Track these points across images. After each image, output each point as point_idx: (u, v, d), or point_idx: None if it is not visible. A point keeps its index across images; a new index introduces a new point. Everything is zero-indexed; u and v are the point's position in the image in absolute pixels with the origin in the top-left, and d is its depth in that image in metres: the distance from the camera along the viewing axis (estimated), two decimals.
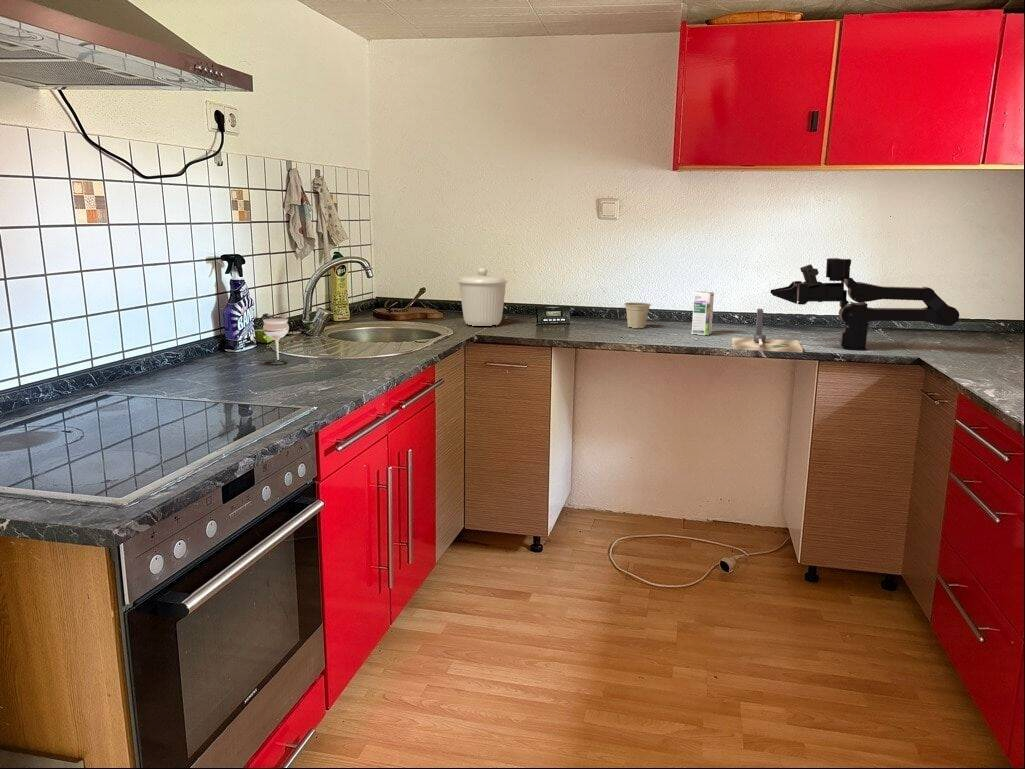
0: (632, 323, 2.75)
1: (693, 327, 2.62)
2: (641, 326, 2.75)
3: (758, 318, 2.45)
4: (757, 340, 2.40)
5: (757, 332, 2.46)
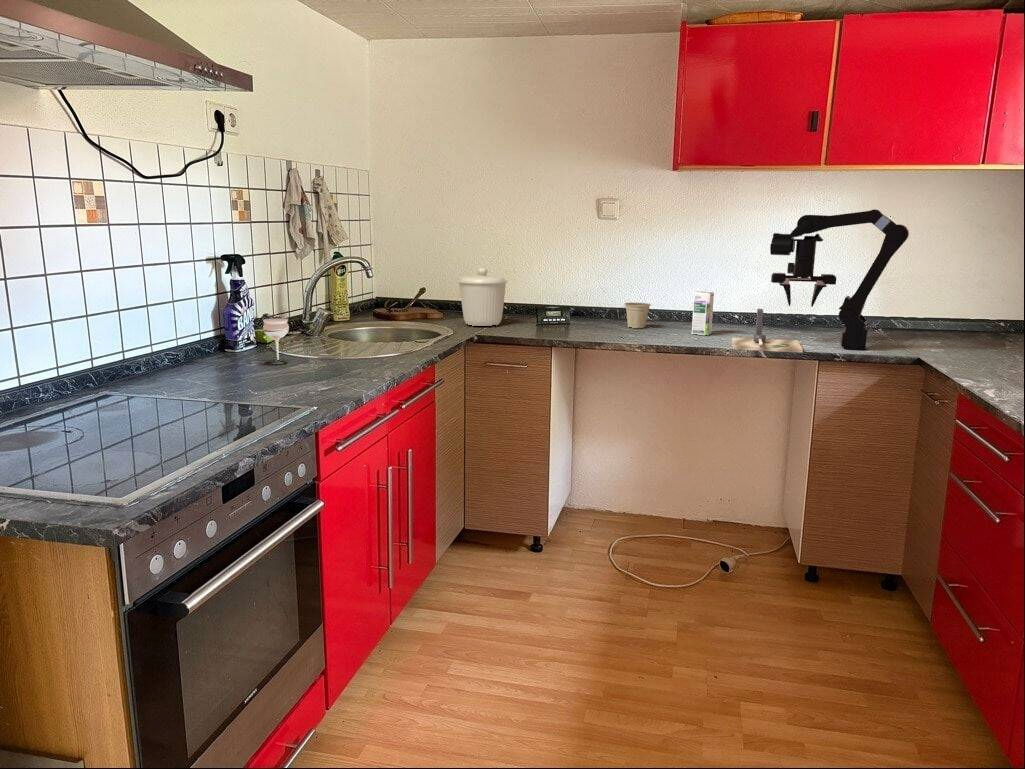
0: (632, 323, 2.75)
1: (693, 327, 2.62)
2: (641, 326, 2.75)
3: (758, 318, 2.45)
4: (757, 340, 2.40)
5: (757, 332, 2.46)
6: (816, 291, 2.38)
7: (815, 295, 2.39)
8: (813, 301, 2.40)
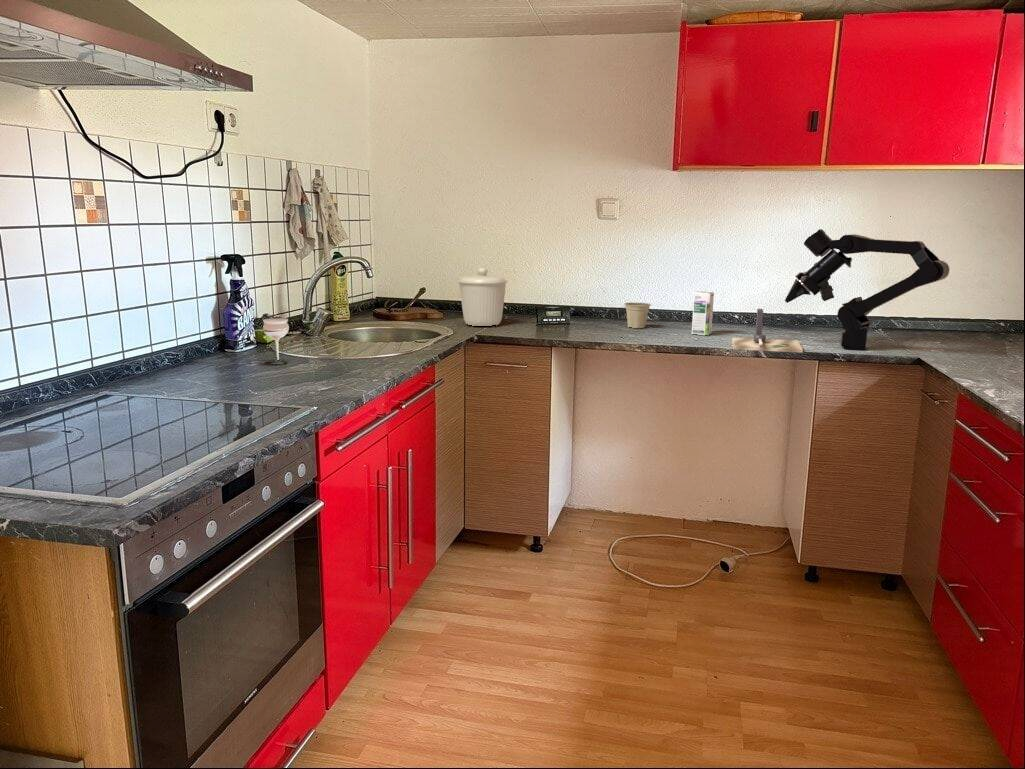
0: (632, 323, 2.75)
1: (693, 327, 2.62)
2: (641, 326, 2.75)
3: (758, 318, 2.45)
4: (757, 340, 2.40)
5: (757, 332, 2.46)
6: (793, 285, 2.41)
7: (791, 289, 2.41)
8: (787, 295, 2.42)
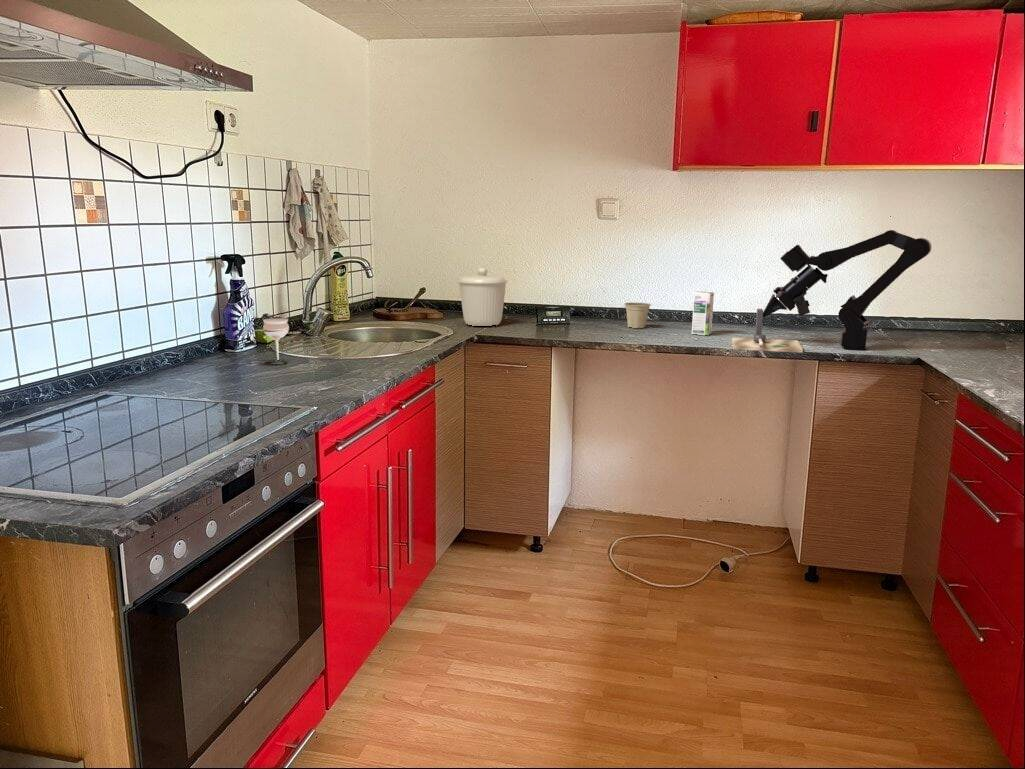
0: (632, 323, 2.75)
1: (693, 327, 2.62)
2: (641, 326, 2.75)
3: (758, 318, 2.45)
4: (757, 340, 2.40)
5: (757, 332, 2.46)
6: (770, 300, 2.44)
7: (768, 304, 2.45)
8: (764, 310, 2.45)
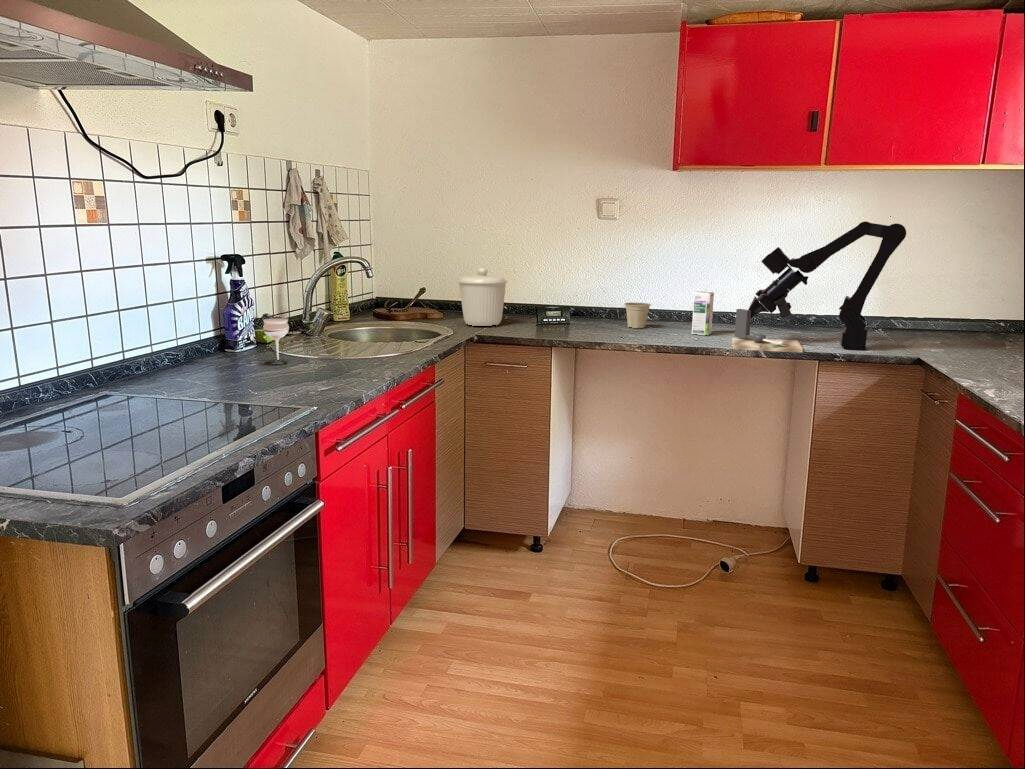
0: (632, 323, 2.75)
1: (693, 327, 2.62)
2: (641, 326, 2.75)
3: (747, 318, 2.44)
4: (761, 340, 2.39)
5: (746, 332, 2.45)
6: (752, 303, 2.45)
7: (750, 307, 2.46)
8: None
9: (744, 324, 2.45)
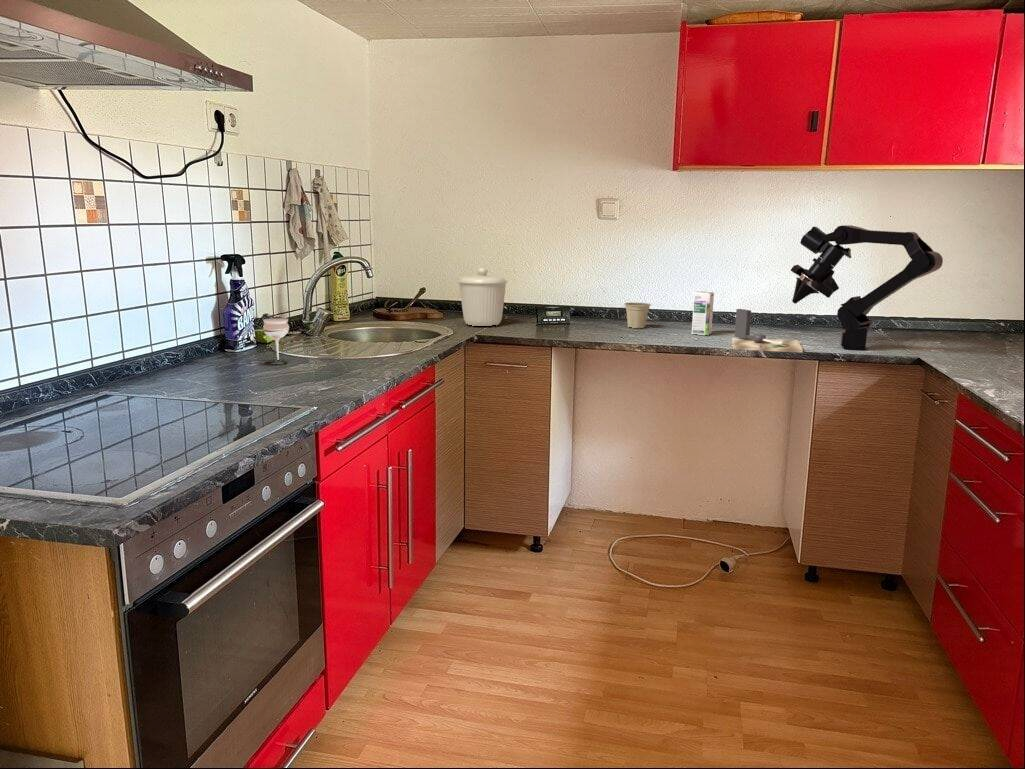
0: (632, 323, 2.75)
1: (693, 327, 2.62)
2: (641, 326, 2.75)
3: (747, 318, 2.44)
4: (761, 340, 2.39)
5: (746, 332, 2.45)
6: (799, 287, 2.41)
7: (798, 291, 2.41)
8: (795, 297, 2.43)
9: (744, 324, 2.45)
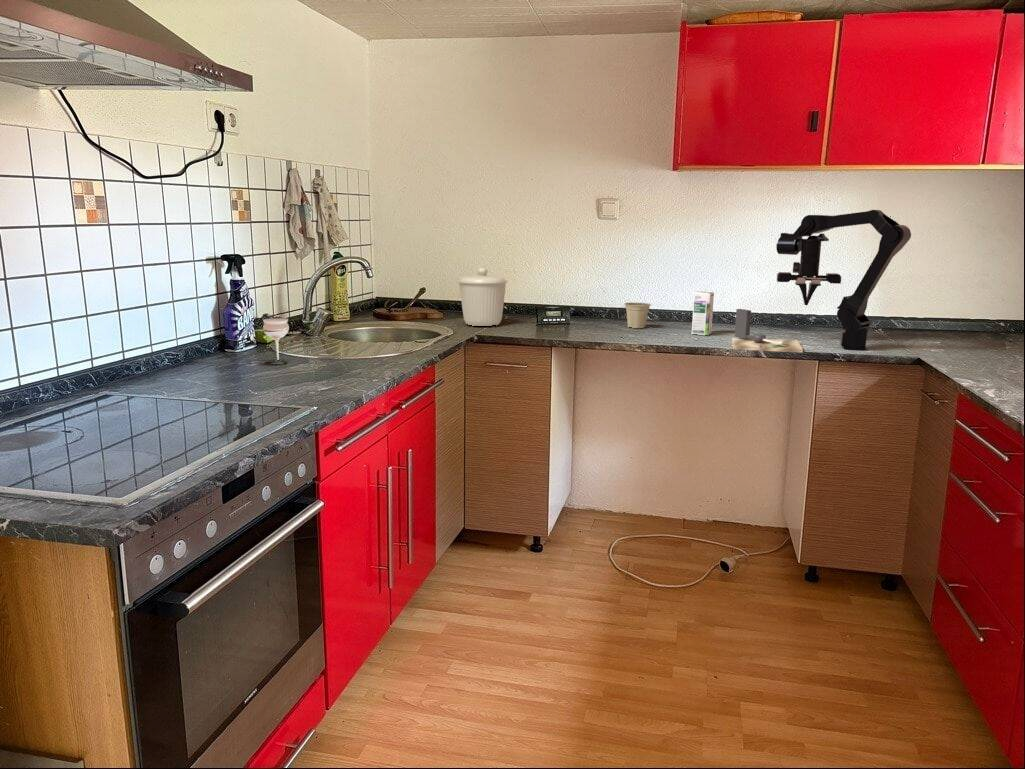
0: (632, 323, 2.75)
1: (693, 327, 2.62)
2: (641, 326, 2.75)
3: (747, 318, 2.44)
4: (761, 340, 2.39)
5: (746, 332, 2.45)
6: (811, 290, 2.42)
7: (810, 294, 2.43)
8: (808, 300, 2.44)
9: (744, 324, 2.45)
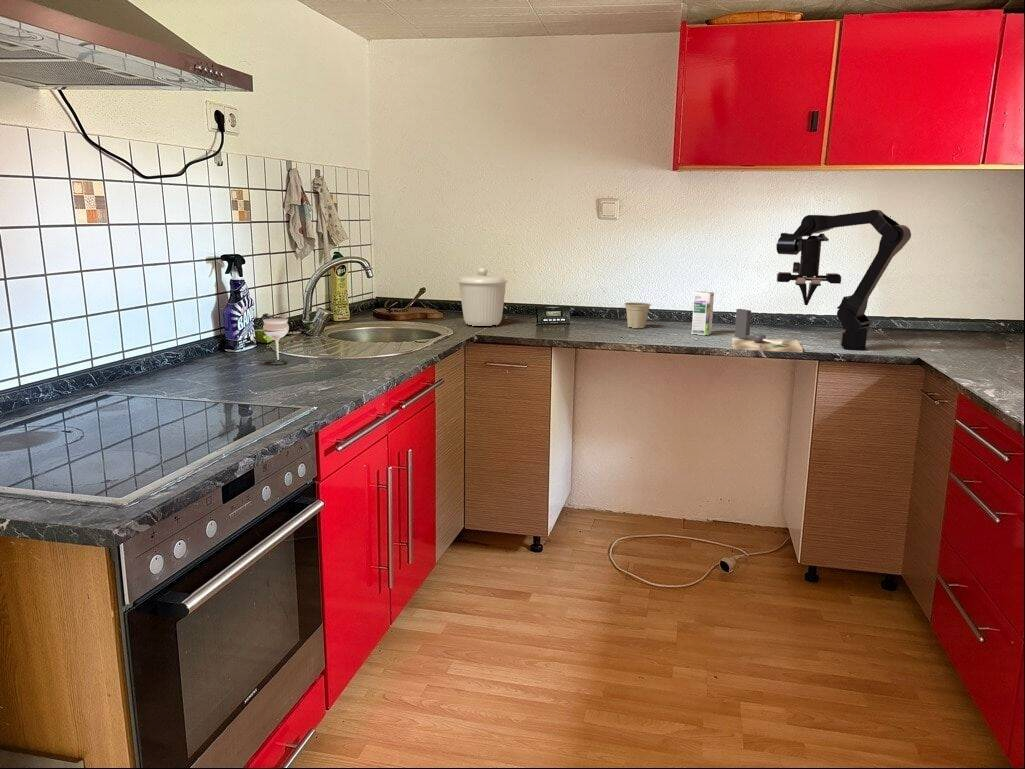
0: (632, 323, 2.75)
1: (693, 327, 2.62)
2: (641, 326, 2.75)
3: (747, 318, 2.44)
4: (761, 340, 2.39)
5: (746, 332, 2.45)
6: (811, 290, 2.42)
7: (810, 294, 2.43)
8: (808, 300, 2.44)
9: (744, 324, 2.45)
